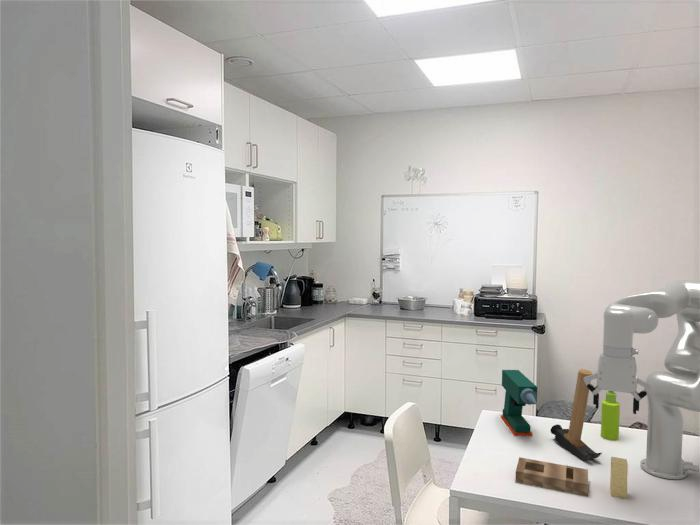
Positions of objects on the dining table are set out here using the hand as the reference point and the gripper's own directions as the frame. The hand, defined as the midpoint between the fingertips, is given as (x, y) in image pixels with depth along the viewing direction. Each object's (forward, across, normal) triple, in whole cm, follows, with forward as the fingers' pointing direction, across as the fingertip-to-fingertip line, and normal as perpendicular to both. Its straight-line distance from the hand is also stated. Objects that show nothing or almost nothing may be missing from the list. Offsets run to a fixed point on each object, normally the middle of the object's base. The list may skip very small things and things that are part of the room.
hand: (615, 409), depth 146 cm
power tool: (+25, +30, -32) cm, 50 cm away
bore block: (+24, +17, +2) cm, 30 cm away
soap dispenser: (+25, +1, -43) cm, 50 cm away
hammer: (+25, +12, -24) cm, 37 cm away
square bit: (+25, -1, +1) cm, 25 cm away
